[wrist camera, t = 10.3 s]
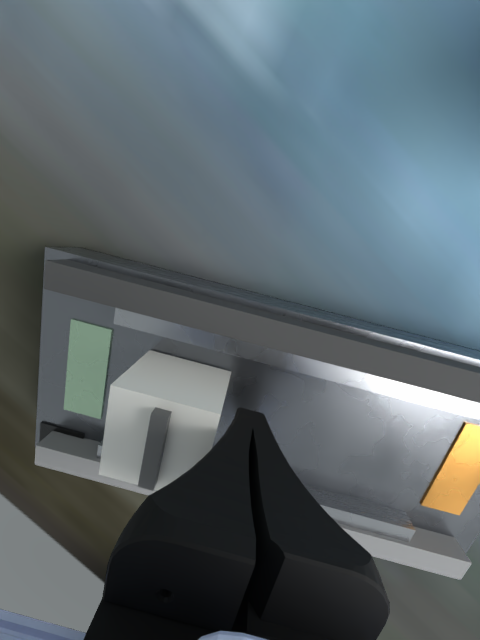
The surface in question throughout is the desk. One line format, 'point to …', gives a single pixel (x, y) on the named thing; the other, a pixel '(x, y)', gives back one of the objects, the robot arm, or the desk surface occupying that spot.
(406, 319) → the desk surface
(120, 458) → the breaker knob
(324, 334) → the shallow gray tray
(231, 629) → the robot arm
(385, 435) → the slider track
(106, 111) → the desk surface
